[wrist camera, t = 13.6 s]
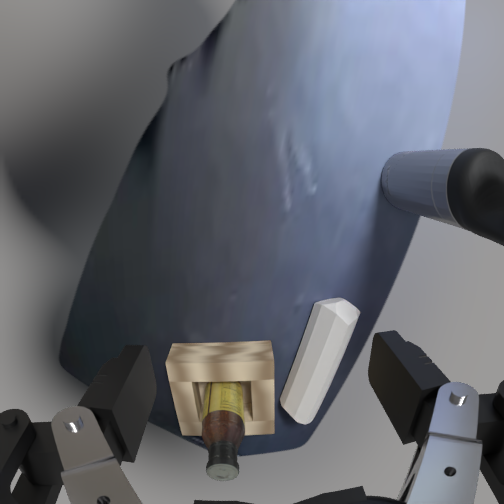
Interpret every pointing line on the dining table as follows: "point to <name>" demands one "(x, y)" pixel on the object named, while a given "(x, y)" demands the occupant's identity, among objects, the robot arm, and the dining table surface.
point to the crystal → (318, 357)
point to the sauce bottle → (223, 428)
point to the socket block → (222, 370)
